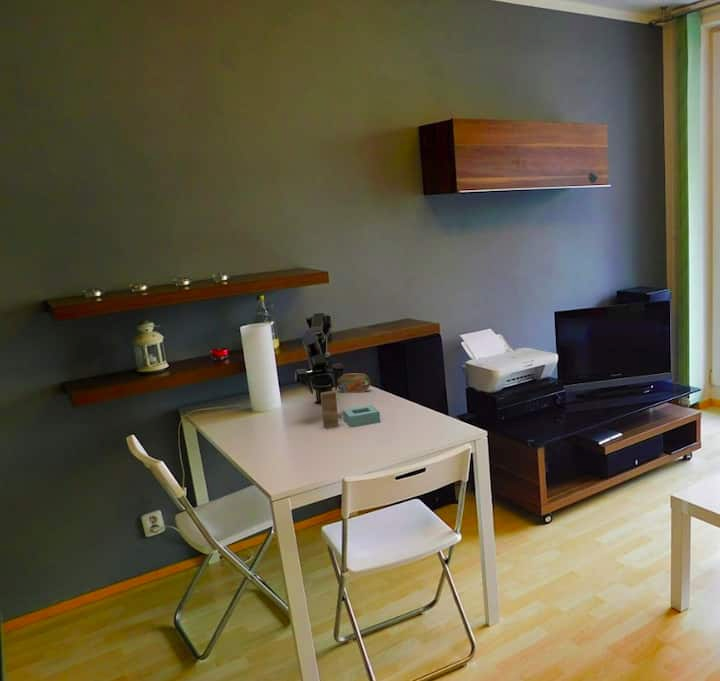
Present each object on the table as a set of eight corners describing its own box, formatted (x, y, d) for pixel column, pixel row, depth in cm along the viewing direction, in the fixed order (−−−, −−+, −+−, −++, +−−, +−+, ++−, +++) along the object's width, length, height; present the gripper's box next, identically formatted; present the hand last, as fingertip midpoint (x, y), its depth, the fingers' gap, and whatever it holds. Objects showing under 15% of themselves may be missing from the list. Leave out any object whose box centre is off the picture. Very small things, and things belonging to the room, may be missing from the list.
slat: (323, 426, 228) (320, 392, 225) (336, 424, 229) (333, 390, 226) (325, 428, 225) (322, 394, 222) (338, 426, 226) (335, 392, 224)
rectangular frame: (344, 419, 233) (343, 409, 232) (372, 415, 236) (371, 405, 235) (350, 427, 224) (349, 416, 223) (380, 421, 227) (379, 411, 226)
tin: (337, 392, 272) (335, 374, 270) (339, 391, 275) (337, 372, 273) (370, 392, 268) (368, 374, 267) (371, 390, 271) (370, 372, 270)
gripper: (293, 349, 229) (301, 384, 221) (340, 342, 234) (350, 376, 226) (291, 365, 238) (299, 399, 230) (337, 359, 243) (347, 392, 235)
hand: (324, 391), depth 230 cm, fingers open, 9 cm apart
